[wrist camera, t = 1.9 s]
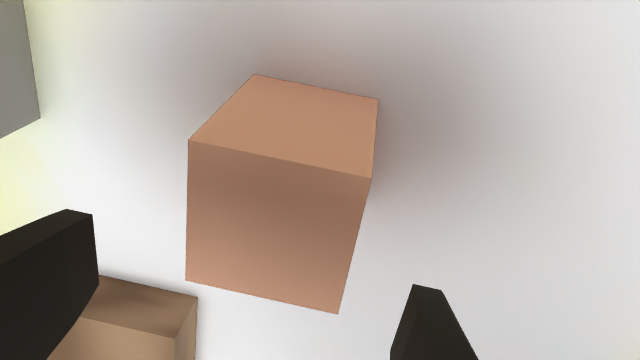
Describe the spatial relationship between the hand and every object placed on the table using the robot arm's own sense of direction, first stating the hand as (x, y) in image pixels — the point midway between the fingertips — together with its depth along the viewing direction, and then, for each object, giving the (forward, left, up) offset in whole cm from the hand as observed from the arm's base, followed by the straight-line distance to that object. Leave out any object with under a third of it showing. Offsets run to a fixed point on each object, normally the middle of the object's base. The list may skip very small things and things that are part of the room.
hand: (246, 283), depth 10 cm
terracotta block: (0, 0, -8) cm, 8 cm away
